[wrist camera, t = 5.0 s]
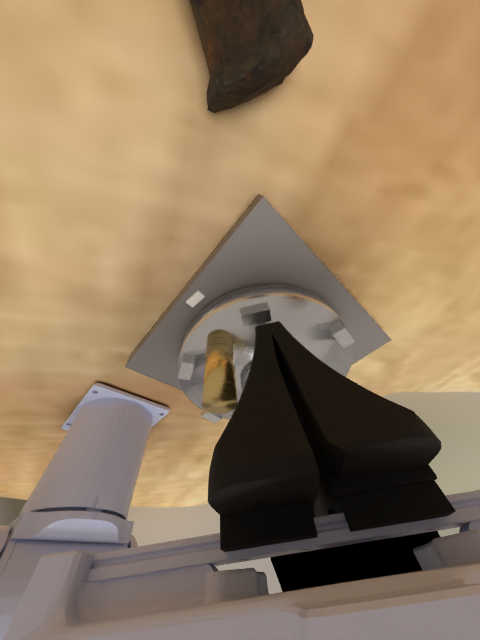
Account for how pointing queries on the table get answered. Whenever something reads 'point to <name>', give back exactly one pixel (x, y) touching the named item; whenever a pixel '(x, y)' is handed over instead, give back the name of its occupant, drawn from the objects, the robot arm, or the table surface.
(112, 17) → the table surface
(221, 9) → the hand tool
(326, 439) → the robot arm
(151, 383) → the table surface
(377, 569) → the coal bowl
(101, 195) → the table surface
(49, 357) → the table surface
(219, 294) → the base plate
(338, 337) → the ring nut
